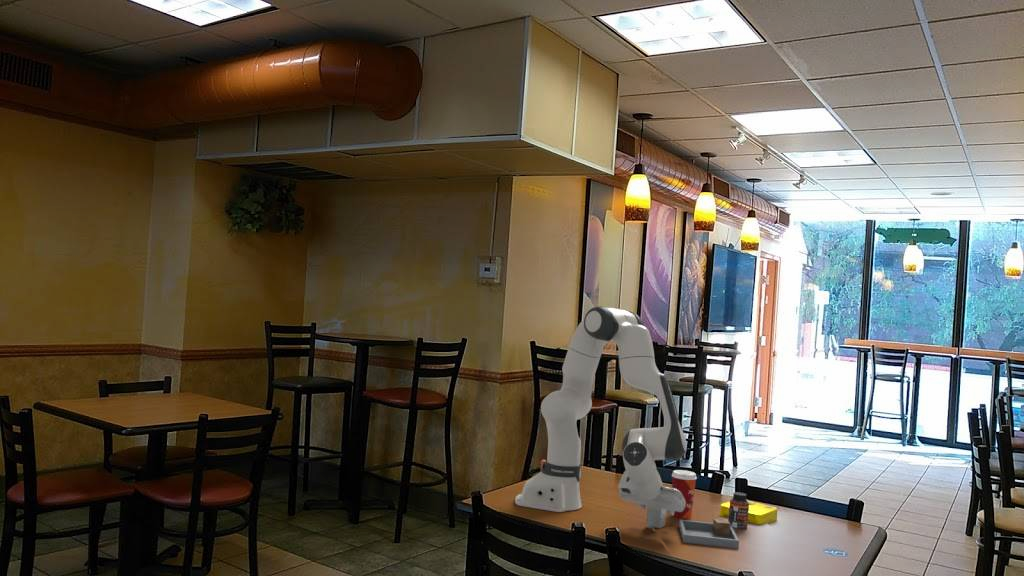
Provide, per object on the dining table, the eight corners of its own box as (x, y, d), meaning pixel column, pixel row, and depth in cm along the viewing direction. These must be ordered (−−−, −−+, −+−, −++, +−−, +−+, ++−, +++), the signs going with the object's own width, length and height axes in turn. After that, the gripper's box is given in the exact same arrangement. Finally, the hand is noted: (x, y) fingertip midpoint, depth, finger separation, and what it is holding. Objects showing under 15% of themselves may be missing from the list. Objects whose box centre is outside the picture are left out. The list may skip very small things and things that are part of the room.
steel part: (659, 530, 228) (661, 499, 229) (646, 527, 231) (648, 496, 231) (665, 527, 232) (667, 496, 232) (651, 524, 235) (653, 494, 235)
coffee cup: (694, 523, 239) (697, 476, 239) (668, 519, 241) (671, 473, 241) (693, 516, 247) (696, 471, 248) (668, 513, 249) (671, 468, 249)
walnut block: (716, 535, 224) (717, 522, 224) (712, 531, 228) (713, 518, 228) (729, 536, 224) (730, 523, 224) (725, 532, 228) (726, 519, 228)
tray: (683, 545, 216) (683, 534, 216) (679, 529, 231) (679, 519, 231) (738, 551, 214) (739, 540, 214) (730, 534, 229) (731, 525, 229)
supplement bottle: (737, 532, 232) (739, 496, 232) (723, 527, 237) (726, 491, 237) (751, 531, 234) (753, 495, 235) (737, 525, 240) (739, 490, 240)
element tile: (717, 517, 250) (717, 503, 250) (737, 510, 261) (738, 496, 261) (759, 528, 239) (760, 514, 239) (778, 520, 250) (779, 506, 250)
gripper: (683, 482, 220) (692, 508, 228) (620, 469, 231) (630, 495, 239) (677, 500, 216) (686, 526, 224) (613, 486, 227) (624, 512, 235)
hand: (657, 510), depth 232 cm, fingers open, 8 cm apart
